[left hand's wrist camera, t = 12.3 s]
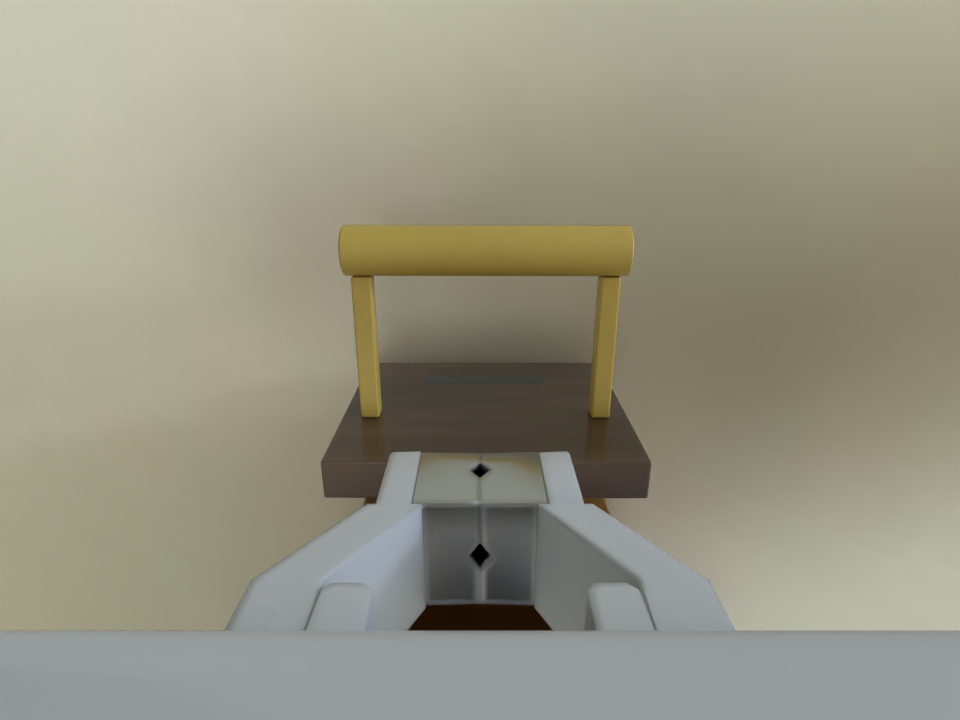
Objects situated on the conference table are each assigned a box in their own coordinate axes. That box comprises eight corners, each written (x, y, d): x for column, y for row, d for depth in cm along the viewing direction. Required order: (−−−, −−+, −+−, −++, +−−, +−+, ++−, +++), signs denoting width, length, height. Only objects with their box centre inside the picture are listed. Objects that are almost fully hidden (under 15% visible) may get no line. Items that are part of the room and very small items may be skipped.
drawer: (359, 207, 22) (296, 242, 14) (610, 208, 22) (678, 242, 14) (386, 602, 28) (352, 766, 21) (580, 602, 28) (615, 767, 21)
